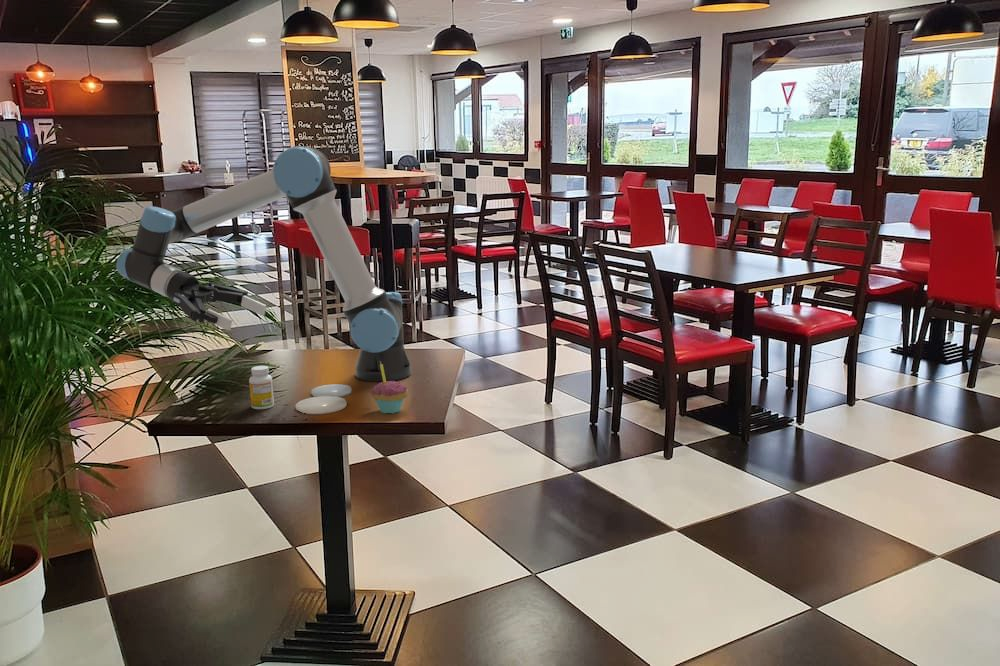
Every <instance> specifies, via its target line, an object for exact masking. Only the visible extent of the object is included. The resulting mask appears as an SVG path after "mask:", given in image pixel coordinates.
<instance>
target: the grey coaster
mask: <svg viewBox="0 0 1000 666" xmlns="http://www.w3.org/2000/svg"><path fill="white" fill-rule="evenodd" d="M310 392H311V396H313V397H319V396H335V397H340V398H343V397H346V396H349V395H350V394H351V393H352V387H351V386H349V385H347V384H339V383H337V384H336V383H333V384H325V385H320V386H315V387H314V388H312V389H311V391H310Z"/></svg>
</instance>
